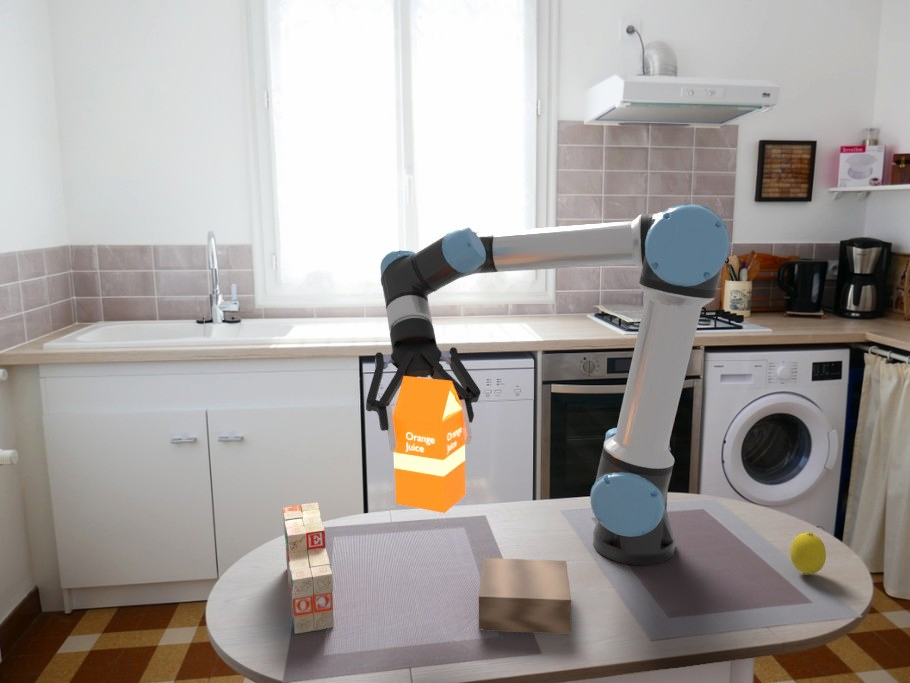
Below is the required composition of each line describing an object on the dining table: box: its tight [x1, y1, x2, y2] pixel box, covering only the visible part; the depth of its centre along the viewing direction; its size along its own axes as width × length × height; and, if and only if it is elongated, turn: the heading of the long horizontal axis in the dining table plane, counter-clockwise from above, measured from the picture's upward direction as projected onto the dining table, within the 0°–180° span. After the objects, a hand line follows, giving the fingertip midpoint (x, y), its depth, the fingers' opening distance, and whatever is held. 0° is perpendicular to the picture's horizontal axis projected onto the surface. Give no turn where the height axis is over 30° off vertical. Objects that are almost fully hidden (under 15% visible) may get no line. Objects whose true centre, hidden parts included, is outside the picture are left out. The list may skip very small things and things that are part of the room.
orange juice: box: [392, 376, 466, 514], centre depth 110 cm, size 8×9×20 cm
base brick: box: [478, 557, 572, 635], centre depth 113 cm, size 14×12×6 cm
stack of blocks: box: [282, 502, 334, 635], centre depth 117 cm, size 21×6×12 cm, turn 16°
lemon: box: [789, 531, 827, 576], centre depth 122 cm, size 6×6×8 cm
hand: (431, 443), depth 108 cm, fingers closed on orange juice, 11 cm apart
